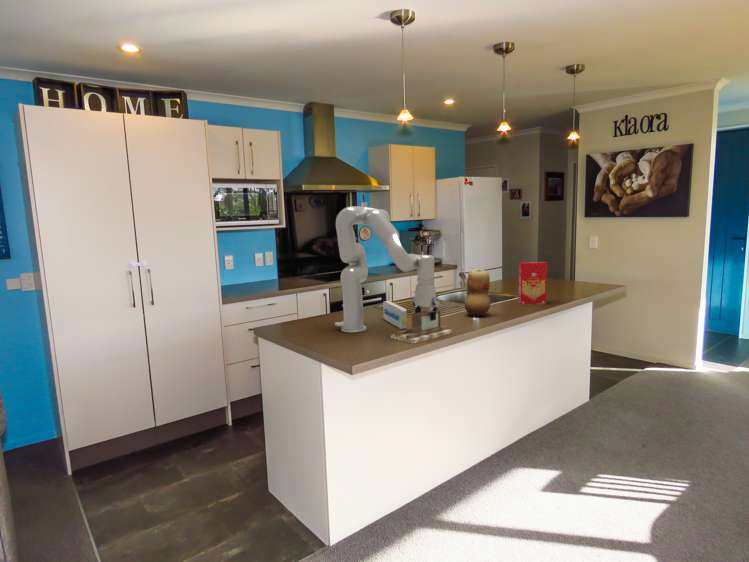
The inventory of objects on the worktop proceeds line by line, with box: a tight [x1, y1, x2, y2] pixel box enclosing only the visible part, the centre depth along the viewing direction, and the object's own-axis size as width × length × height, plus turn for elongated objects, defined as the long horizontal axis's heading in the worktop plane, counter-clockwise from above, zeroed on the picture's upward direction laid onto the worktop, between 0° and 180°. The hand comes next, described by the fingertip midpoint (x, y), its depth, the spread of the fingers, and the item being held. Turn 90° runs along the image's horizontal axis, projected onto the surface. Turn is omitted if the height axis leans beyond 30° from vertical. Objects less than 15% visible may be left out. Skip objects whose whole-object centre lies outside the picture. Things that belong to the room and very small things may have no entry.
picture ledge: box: [390, 325, 454, 345], centre depth 220 cm, size 26×14×3 cm, turn 129°
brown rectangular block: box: [411, 309, 441, 334], centre depth 222 cm, size 14×5×9 cm, turn 128°
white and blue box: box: [382, 300, 409, 330], centre depth 242 cm, size 32×4×10 cm, turn 18°
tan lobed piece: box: [464, 268, 491, 317], centre depth 257 cm, size 14×13×25 cm
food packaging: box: [518, 261, 548, 304], centre depth 283 cm, size 15×5×25 cm, turn 88°
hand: (425, 318), depth 222 cm, fingers open, 9 cm apart
